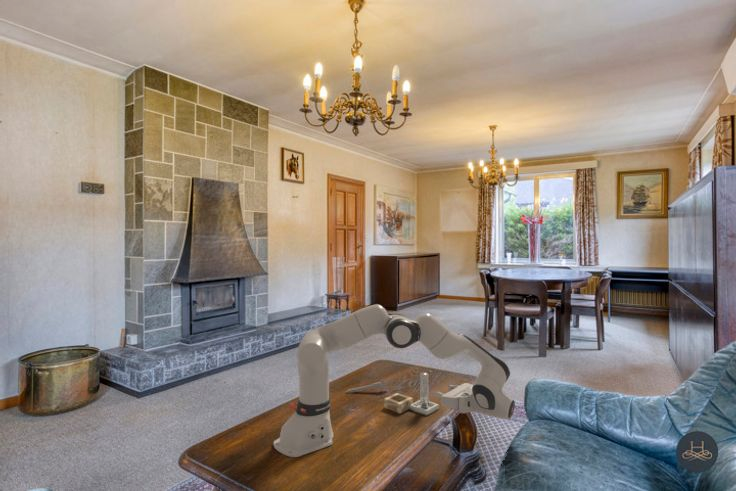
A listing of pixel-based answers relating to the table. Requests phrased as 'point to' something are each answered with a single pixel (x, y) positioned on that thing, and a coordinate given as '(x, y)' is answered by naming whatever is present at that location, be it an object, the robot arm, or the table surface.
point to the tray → (431, 409)
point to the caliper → (374, 386)
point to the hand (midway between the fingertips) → (443, 390)
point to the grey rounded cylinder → (424, 390)
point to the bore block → (398, 403)
